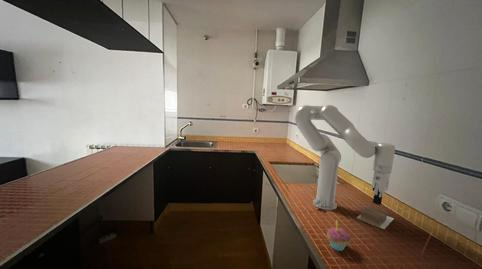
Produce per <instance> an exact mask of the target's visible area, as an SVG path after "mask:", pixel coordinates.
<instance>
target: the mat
mask: <svg viewBox="0 0 482 269" xmlns="http://www.w3.org/2000/svg"><path fill="white" fill-rule="evenodd" d="M360 216H361V214H359V215H358V216H357V217H356V219H358V220H360ZM394 219H395V218H393V217H391V216H388V215H387V219H386V220H385V221H384V223H383V224H382V225H381V226H380V227H379V228H380V229H383V230H385V229H386V228H387V227H388V226H389V225H390V224H391V223H392V221H393V220H394Z"/></svg>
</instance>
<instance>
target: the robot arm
mask: <svg viewBox="0 0 482 269" xmlns="http://www.w3.org/2000/svg"><path fill="white" fill-rule="evenodd" d="M294 120H295V122H294V123H295V124H296V127H297V129H298V130H299V132H300V133H301V135H302V136H303V137H304V139H305V141H306V142H307V143H308V145H309V147H310V148H311V149H312V150H313V151H315V152H319V153H320V157H319V166H318V168H319V169H318V180H317V189H316V197H315V198H314V199H313V201H312V205H313V206H315V207H317V208H319V209H321V210H326V211H334V210H336V209H337V207H338V205H337V204H336V203H335V199H336V191H337V190H336V189H337V184H338V172H339V171H338V170H339V164H340V162H341V160H342V154H341V152H340V150H339V149H338V148H337V147H336V145H335V144H334V142H333V141H332V140H331V138H330V137H329V136H327V135H326V134H324V133H321V132H320V131H319V129H318V128H317V126H316V125H315V124H314V123H313V122H312V120H314V121H324V122H325V123H327V125H329V126H330V127H331V128H332V130H334V131H335V132H336V133H337V134H338V135H339V136H340V138H342V140H343V141H344V142H345V143H346V144H347V145H348V146H349V147H350V148H351V149H352V151H354V152H355V153H357V154H358V155H359V156H360V157H362V158H363V159H364V158H365V159H369V158H371V157H374V160H373V165H372V170H373V171H374V173H373V176H372V183H371V191H373V197H372V198H373V199H372V204H376V205H378V206H381V205H382V201H383V194H384V193H386V192H387V191H388V190H389V186H390V176H391V175H390V174H392V172H393V171H392V170H393V164H394V158H395V152H396V151H395V150H396V146H395V144H391V143H388V142H376V141H372V140H368V139H366V137H365V136H363V135H362V134H361V132H359V130H358V129H356V126H355V125H354V123H352V121H351V120H349V119H348V118H347V117H346V116H345V115H344V114H342V112H340V111H339V109H338V107H336V106H334V105H332V104H327V105H309V104H307V105H306V104H305V105H302V106H300V107H299V108H298V110H296V114H295V118H294Z"/></svg>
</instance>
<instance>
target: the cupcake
mask: <svg viewBox="0 0 482 269" xmlns="http://www.w3.org/2000/svg"><path fill="white" fill-rule="evenodd" d="M338 226H339V221H338V219H336V220H335V227H331V228H329V229H327V231H326V237H327V239H328V240H329V244H330V247H331V248H332V249H334V250H335V251H339V252H342V251H344V249H345V248H346V247H347V245H350V243H351V236H350V234H348V232H347V231H345V229H344V228H343V229H342V228H340V227H338Z"/></svg>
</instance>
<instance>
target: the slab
mask: <svg viewBox="0 0 482 269" xmlns="http://www.w3.org/2000/svg"><path fill="white" fill-rule="evenodd" d="M360 215H361V216H360V219H359V221H362V222H365V223H367V224H369V225H371V226H373V227H377V228H380V226H381V225H382V224H383V223H384V221H385V220H386V219H387V216H388V211H385V210H383V209H380V208H377V207H374V206H371V205H369V206H367V207H366V208H364V209H363V210H362V211H360Z"/></svg>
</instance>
